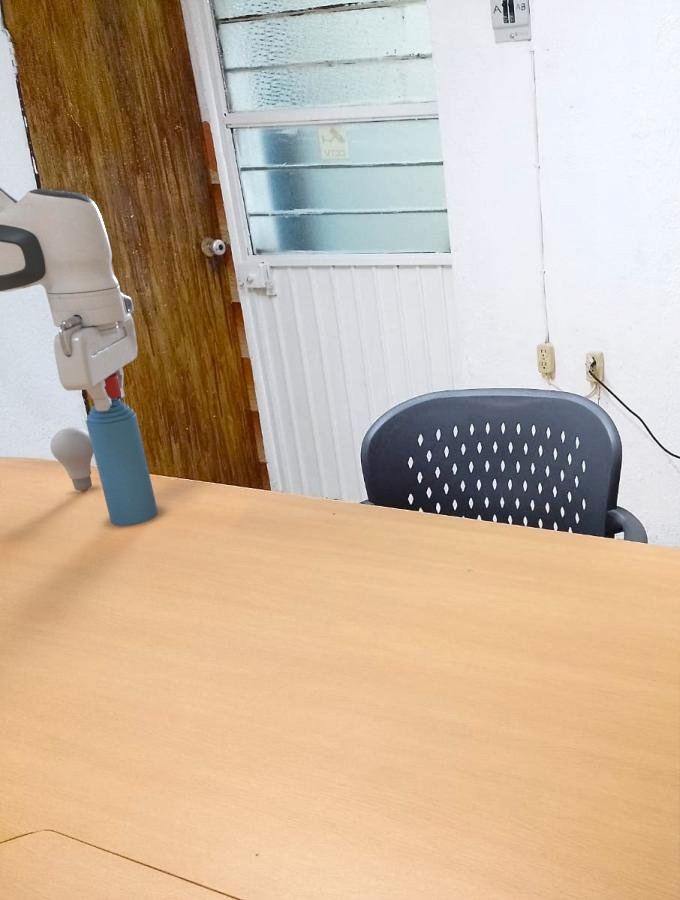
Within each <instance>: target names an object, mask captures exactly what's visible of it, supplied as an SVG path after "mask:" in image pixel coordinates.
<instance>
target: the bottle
mask: <svg viewBox="0 0 680 900" xmlns="http://www.w3.org/2000/svg"><path fill="white" fill-rule="evenodd" d="M111 402H112V407H111V408H110V409H109V410H107V411H97V410H96V409H95V405H94V404H93V405H92V406H91V410H90V411H89V412H88V415H87V416H86V420H85V423H86V428H87V432H88V433H89V436H90V440H91V444H92V448H93V452H94V453H93V457H94V461H95V464H96V468H97V471H98V476H99V481H100V484H101V487H102V491H103V495H104V500H105V503H106V507H107V512H108V516H109V520H110V523H111V525H114V526H118V527H129V526H135V525H139V524H143V523H146V522H149V521H151V520H153V519H154V518H156V517H157V516H158V514H159V510H158V506H157V501H156V497H155V493H154V488H153V484H152V479H151V476H150V471H149V466H148V462H147V458H146V454H145V449H144V444H143V439H142V435H141V431H140V427H139V422H138V418H137V413H136V412H134V409H133V408H131V407H130V406H129V405H128V404H125V402H124V401H121V400H120V399H119V398H114V399H111Z"/></svg>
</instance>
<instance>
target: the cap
mask: <svg viewBox="0 0 680 900" xmlns="http://www.w3.org/2000/svg"><path fill="white" fill-rule="evenodd" d="M104 381H105V385H106V386H105V387H104V388H105V390H106V392H107V395H108V396H110V397H111V399H114V398H118V397H120V396H121V395H122V394H121V390H120V385H119V381H118V376H117V374H115V373H114V374H112V375H111V376H109V377H108V378H106V379H105V380H104ZM88 396H89V400H90V401H93V399H92V398H91V396H90V395H89V394H88Z"/></svg>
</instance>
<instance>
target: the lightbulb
mask: <svg viewBox="0 0 680 900" xmlns="http://www.w3.org/2000/svg"><path fill="white" fill-rule="evenodd" d="M50 451H51V454H52V456H53V457H54V458H55V460H57V461H58V462H59V463H60V464H61V465H62V466H63V467H64V469H65V470H66V472H67V475H68V477H69V479H71V482H72V486H73V487H74V490H76V491H80V492H81V493H82V492H87V491H89V489H91V488H92V487H93V483H92V478H91V475H92V469H91V468H92V467H91V463H92V459H93V457H94V452H93V448H92V444H91V440H90V436H89V432H88V430H87V431H86V430H85V429H83V428H80V427H74V426H73V427H72V426H71V427H64V428H63V429H62V428H61V430H59V431H58V432H56V433H55V434H54V435H53V437H52V438H51V441H50Z"/></svg>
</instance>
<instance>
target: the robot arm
mask: <svg viewBox="0 0 680 900" xmlns="http://www.w3.org/2000/svg"><path fill="white" fill-rule="evenodd" d="M112 260H113V252H112V248H111V244H110V239H109V236H108V233H107V229H106V226H105V223H104V221H103V217H102V214H101V213H100V210H99V208H98V206H97V204H96V203H95V202H94V200H93V199H92V198H90V197H89V196H88V195H85V194H83V193H80V192H78V191H77V192H76V191H72V190H65V189H50V188H35V189H32V190H29V191H27V192H26V193H25V195H24V196H23V197H21V199H19V200H17V199H15V198H14V197H13V196H12V195H11V194H9V193H8V192H7V191H6V190H4V188H3V187H1V186H0V293H7V292H8V293H9V292H15V291H18V290H22V289H27V288H31V287H33V286H38V285H40V286H42V287H43V288H44V290H45V293H46V297H47V302H48V305H49V308H50V309H49V310H50V313H51V317H52V321H53V325H54V326H55V327H57V328H60V329H59V331H58V332H57V334H56V335H55V336H54V338H53V352H54V357H55V364H56V369H57V374H58V379H59V382H60V384H61V386H62V387H63V389H64V390H65V391H69V392H71V391H84V390H86V392H87V393H88V396H89V395H90V396H91V398H92V399H93V400H92V401H93V406H94V405H95V409H96V410H97V411H107V410H109V409H110V408H111V407H112V402H111V397H110V396H108V395H107V392H106V390H105V388H104V387H105V386H106V385H105V381H104V380H105V379H106V378H108V377H109V376H111V375H112V374H114V373H115V374H117V376H118V381H119V385H120V390H121V394H122V395H121V396H120V397H118V398H119V399H120V401H121V400H123V399H124V398H125V397H126V394H125V390H124V378H125V377H124V376H125V373H124V367H125V366H127V365H128V364H130V363H131V362H133V361H134V360H136V359H137V358H138V340H137V333H136V328H135V321H134V318H133V316H132V314H131V313H133V312H134V310H135V308H134V302H133V299H132V297H130V296H128V295H125V293H123V292H122V291H121V288H120V284H119V280H118V279H117V277H116V275H115V274H114V271H113V267H112ZM90 396H89V397H90Z"/></svg>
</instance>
